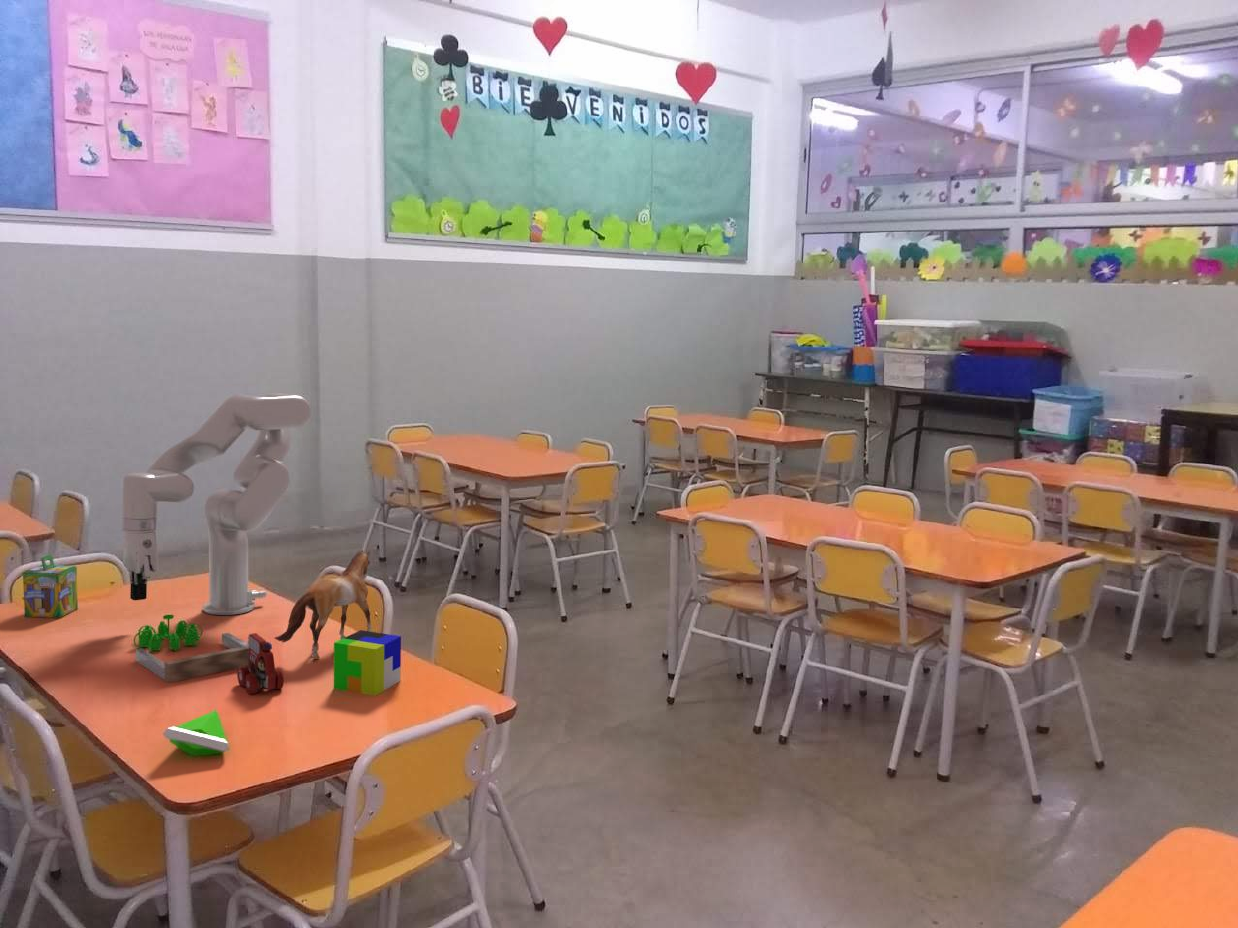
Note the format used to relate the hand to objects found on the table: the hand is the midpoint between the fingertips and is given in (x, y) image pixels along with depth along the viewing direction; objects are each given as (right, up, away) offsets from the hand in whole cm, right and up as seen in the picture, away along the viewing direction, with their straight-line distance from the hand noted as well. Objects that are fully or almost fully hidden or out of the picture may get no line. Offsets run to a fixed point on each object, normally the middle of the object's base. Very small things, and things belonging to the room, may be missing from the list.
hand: (138, 598), depth 254 cm
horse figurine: (+47, -10, -7) cm, 48 cm away
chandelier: (+12, -10, -10) cm, 18 cm away
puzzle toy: (+63, -14, -31) cm, 72 cm away
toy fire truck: (+42, -14, -35) cm, 56 cm away
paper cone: (+39, -18, -62) cm, 76 cm away
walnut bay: (+23, -11, -21) cm, 34 cm away
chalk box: (-27, -5, +10) cm, 29 cm away
